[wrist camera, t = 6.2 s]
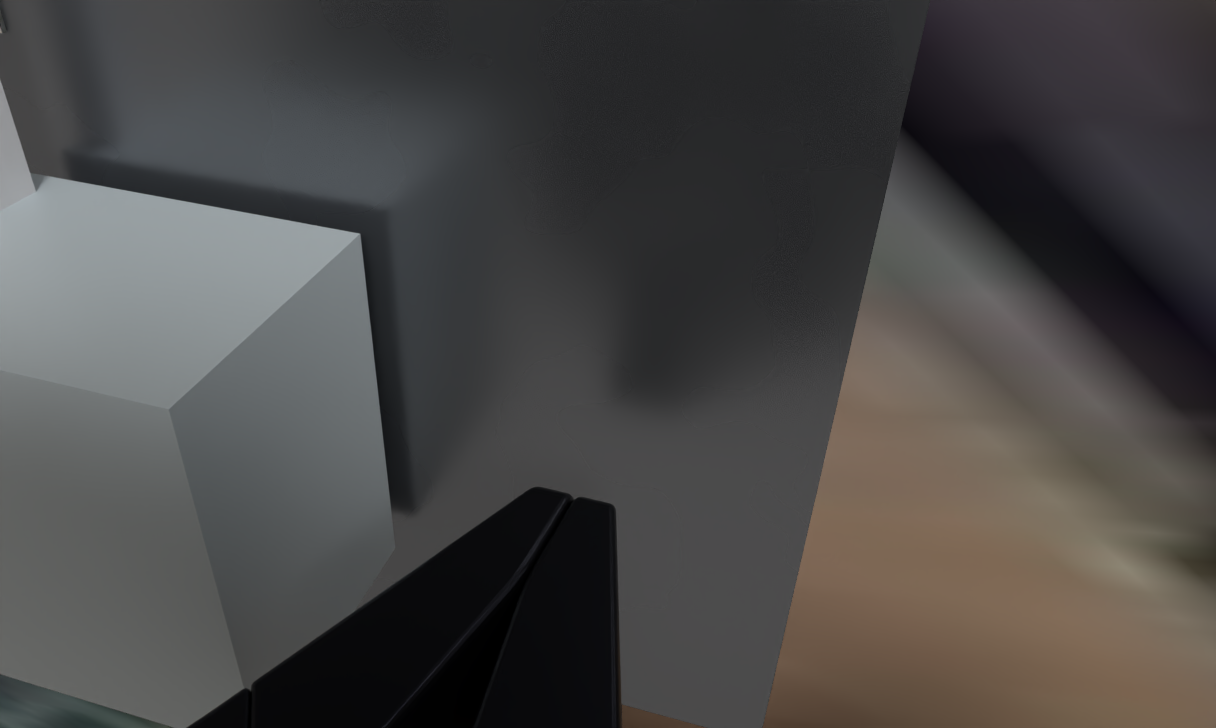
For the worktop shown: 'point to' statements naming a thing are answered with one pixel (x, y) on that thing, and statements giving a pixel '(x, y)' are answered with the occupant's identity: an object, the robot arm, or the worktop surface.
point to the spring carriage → (177, 442)
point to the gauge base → (544, 253)
